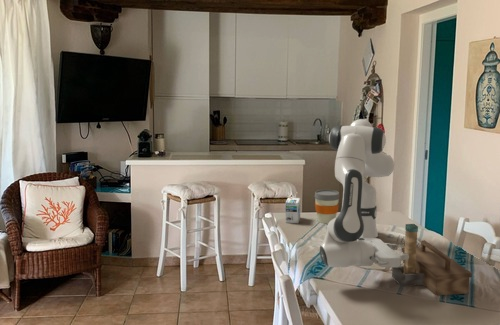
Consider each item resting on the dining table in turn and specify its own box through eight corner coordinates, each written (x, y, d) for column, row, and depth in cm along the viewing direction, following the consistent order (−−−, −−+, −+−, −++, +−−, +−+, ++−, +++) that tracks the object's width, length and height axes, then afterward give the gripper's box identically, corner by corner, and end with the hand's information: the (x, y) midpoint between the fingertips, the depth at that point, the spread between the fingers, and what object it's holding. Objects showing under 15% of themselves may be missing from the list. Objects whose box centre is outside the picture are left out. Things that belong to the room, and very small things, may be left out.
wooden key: (405, 283, 179) (408, 227, 175) (400, 278, 183) (403, 223, 180) (417, 282, 180) (420, 226, 176) (411, 277, 184) (414, 223, 180)
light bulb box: (298, 223, 251) (298, 202, 249) (285, 222, 252) (285, 202, 250) (300, 217, 261) (300, 197, 259) (287, 216, 262) (287, 197, 260)
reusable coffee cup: (313, 217, 261) (313, 189, 258) (337, 217, 261) (337, 189, 258) (315, 224, 249) (315, 195, 246) (340, 224, 248) (341, 195, 246)
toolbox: (413, 297, 168) (415, 265, 166) (382, 267, 194) (383, 238, 192) (470, 293, 170) (473, 262, 168) (432, 264, 197) (433, 236, 195)
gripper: (376, 255, 167) (415, 253, 169) (356, 235, 187) (391, 234, 189) (376, 273, 168) (414, 270, 170) (355, 251, 188) (390, 249, 190)
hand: (402, 251), depth 179 cm, fingers open, 8 cm apart
